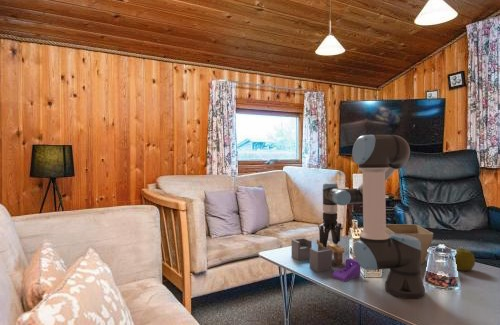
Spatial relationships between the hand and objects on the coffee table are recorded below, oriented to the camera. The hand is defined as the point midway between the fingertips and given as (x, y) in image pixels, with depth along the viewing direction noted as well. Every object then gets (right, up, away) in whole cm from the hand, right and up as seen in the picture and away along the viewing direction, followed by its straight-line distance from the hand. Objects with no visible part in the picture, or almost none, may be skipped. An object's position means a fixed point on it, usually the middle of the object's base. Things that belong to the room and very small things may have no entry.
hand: (329, 255), depth 181 cm
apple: (+61, -3, -16) cm, 63 cm away
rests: (0, -2, 0) cm, 2 cm away
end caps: (-11, -2, -5) cm, 12 cm away
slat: (0, +4, 0) cm, 4 cm away
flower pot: (+39, -2, -2) cm, 39 cm away
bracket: (+2, -4, -23) cm, 23 cm away
